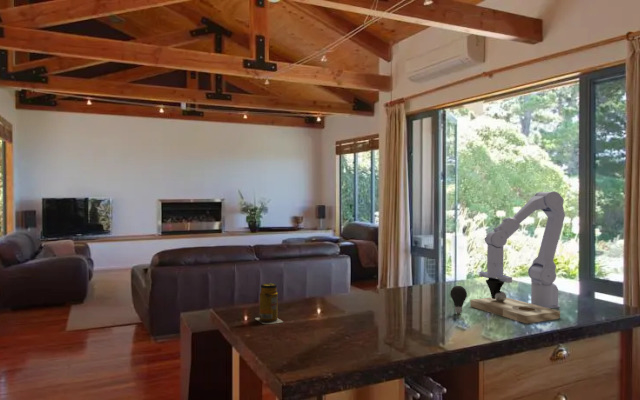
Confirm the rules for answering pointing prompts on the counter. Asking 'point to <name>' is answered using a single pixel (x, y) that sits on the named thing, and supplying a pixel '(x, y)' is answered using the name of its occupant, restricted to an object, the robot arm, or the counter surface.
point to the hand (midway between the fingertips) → (494, 298)
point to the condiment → (268, 304)
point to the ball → (500, 296)
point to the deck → (516, 310)
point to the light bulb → (458, 297)
